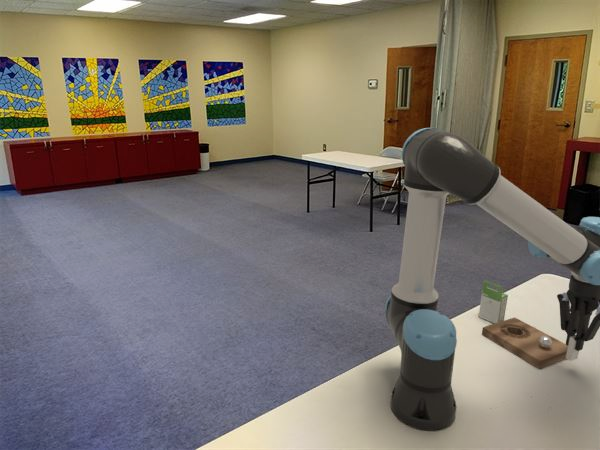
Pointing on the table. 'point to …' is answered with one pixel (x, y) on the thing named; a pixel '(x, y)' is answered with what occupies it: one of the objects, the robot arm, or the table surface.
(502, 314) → the ink box
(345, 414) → the table surface
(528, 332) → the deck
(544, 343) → the ball
